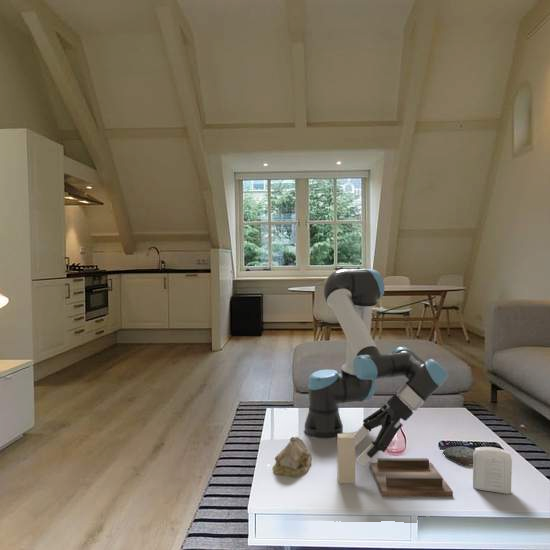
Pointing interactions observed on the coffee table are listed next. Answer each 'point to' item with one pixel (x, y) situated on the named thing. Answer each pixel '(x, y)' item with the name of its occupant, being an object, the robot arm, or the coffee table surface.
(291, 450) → the ceramic model
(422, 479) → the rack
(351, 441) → the beige rectangular block
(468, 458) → the fossil
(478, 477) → the white upright flat block
